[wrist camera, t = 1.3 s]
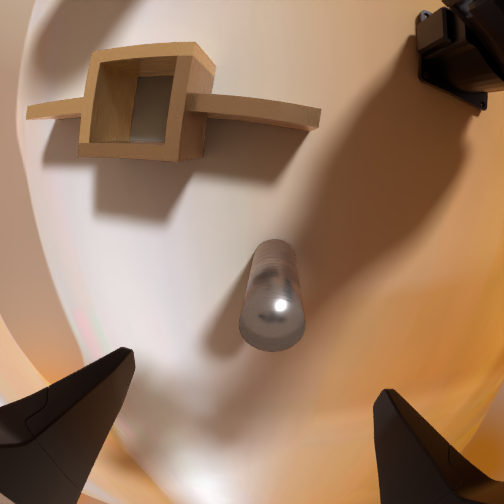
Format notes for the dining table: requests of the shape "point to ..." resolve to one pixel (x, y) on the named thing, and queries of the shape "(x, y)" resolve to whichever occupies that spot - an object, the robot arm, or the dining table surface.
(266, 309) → the pin
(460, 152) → the dining table surface
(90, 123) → the wooden box with arms
